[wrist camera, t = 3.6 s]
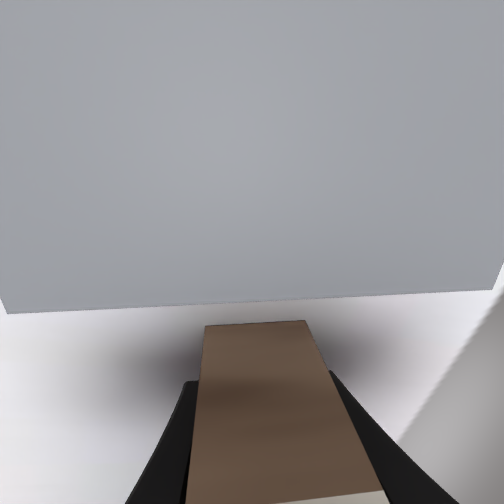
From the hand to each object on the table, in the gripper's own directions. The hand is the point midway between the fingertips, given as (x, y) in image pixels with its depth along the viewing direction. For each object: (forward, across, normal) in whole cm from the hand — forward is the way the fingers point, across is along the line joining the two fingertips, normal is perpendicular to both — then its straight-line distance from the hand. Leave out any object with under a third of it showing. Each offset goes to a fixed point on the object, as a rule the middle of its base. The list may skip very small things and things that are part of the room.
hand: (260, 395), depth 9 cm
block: (+2, 0, 0) cm, 2 cm away
